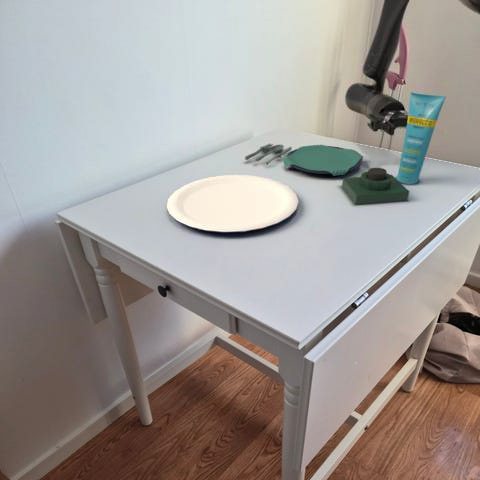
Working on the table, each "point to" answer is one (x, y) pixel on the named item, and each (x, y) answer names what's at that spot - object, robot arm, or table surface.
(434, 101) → the tube
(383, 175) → the button
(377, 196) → the pump base
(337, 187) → the table surface
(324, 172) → the cutlery set
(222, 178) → the plate
